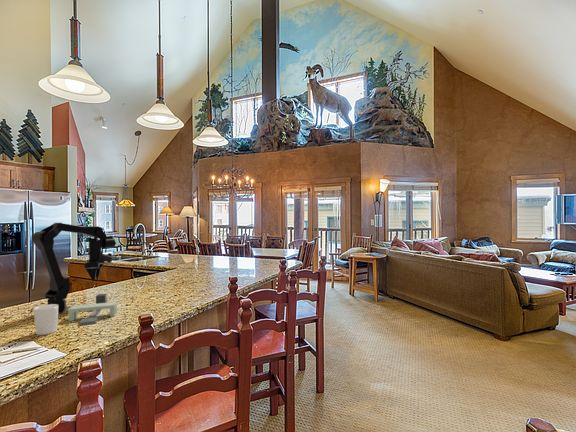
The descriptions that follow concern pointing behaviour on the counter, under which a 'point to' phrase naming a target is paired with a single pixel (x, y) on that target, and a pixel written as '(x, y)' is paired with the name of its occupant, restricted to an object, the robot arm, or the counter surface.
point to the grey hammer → (99, 299)
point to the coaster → (88, 321)
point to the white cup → (46, 319)
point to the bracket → (74, 309)
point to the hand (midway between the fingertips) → (95, 278)
